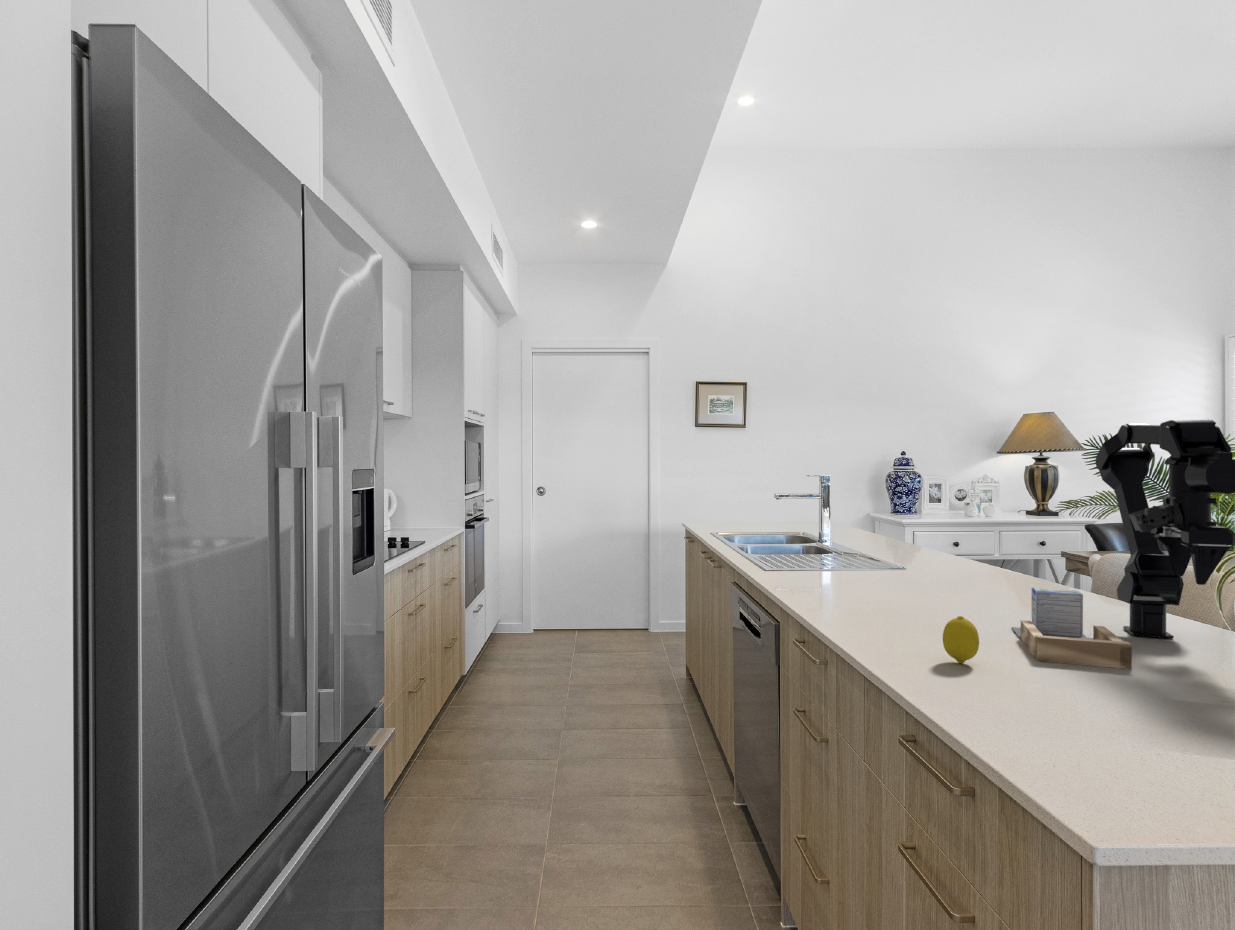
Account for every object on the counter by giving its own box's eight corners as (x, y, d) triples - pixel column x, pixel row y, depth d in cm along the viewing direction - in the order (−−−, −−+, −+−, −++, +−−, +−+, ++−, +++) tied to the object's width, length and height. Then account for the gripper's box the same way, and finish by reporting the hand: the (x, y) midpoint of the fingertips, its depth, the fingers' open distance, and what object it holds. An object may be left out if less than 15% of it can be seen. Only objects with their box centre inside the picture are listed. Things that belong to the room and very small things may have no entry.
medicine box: (1077, 633, 135) (1077, 589, 135) (1083, 639, 131) (1083, 593, 130) (1030, 630, 138) (1030, 586, 137) (1035, 635, 133) (1035, 590, 133)
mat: (1011, 628, 140) (1011, 627, 140) (1081, 633, 136) (1081, 632, 136) (1018, 638, 133) (1018, 636, 133) (1092, 643, 129) (1092, 642, 129)
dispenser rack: (1020, 638, 133) (1020, 617, 133) (1103, 644, 128) (1103, 623, 128) (1037, 660, 118) (1037, 637, 118) (1131, 668, 113) (1131, 644, 113)
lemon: (983, 669, 113) (983, 620, 113) (947, 667, 115) (947, 619, 114) (973, 659, 119) (973, 613, 119) (938, 658, 120) (938, 611, 120)
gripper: (1118, 488, 133) (1118, 569, 133) (1153, 493, 116) (1153, 586, 116) (1189, 489, 129) (1189, 572, 129) (1237, 494, 112) (1236, 590, 112)
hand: (1189, 580), depth 122 cm, fingers open, 9 cm apart
